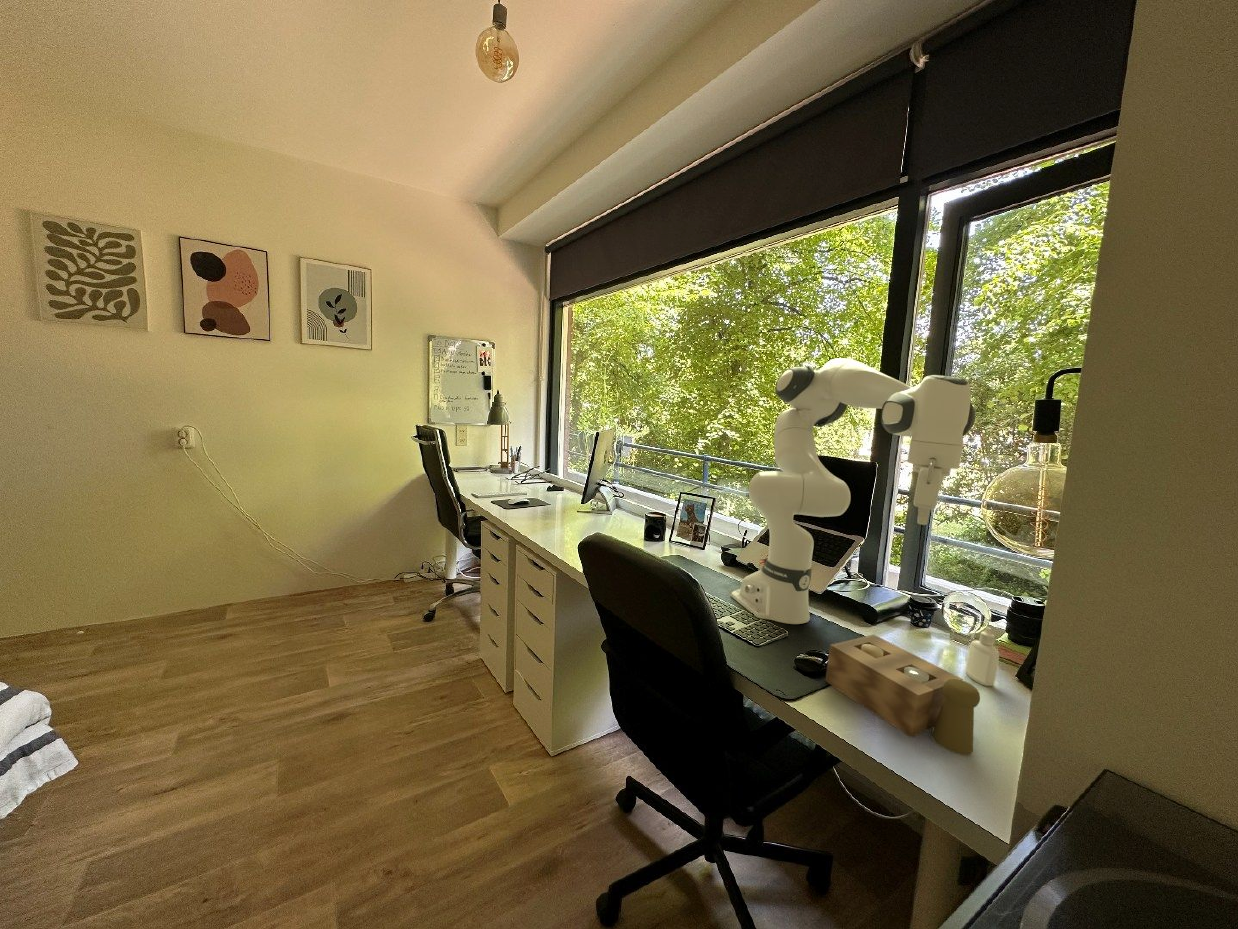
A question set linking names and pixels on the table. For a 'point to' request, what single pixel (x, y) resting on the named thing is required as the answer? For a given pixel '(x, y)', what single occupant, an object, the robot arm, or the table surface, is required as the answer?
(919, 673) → the grey metal peg
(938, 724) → the cork
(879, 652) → the beech peg
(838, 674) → the socket block
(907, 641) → the table surface
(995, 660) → the eye dropper bottle
